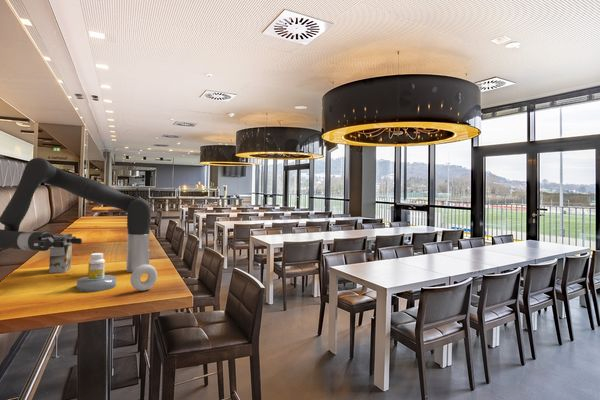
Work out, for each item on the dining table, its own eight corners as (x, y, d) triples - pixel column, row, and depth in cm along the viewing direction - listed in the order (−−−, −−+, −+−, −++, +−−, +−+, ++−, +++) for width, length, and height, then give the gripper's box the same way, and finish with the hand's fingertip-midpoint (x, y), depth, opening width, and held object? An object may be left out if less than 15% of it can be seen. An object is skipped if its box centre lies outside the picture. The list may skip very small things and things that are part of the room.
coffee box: (66, 272, 151) (67, 236, 150) (48, 273, 148) (49, 236, 148) (71, 267, 159) (72, 233, 159) (54, 268, 157) (55, 233, 156)
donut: (132, 294, 125) (133, 267, 125) (128, 292, 127) (129, 265, 127) (158, 289, 132) (159, 263, 132) (154, 287, 135) (155, 261, 135)
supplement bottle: (92, 277, 134) (93, 252, 134) (106, 277, 135) (107, 252, 134) (85, 280, 129) (86, 254, 129) (100, 280, 129) (101, 255, 129)
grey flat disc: (114, 280, 141) (114, 273, 141) (117, 289, 130) (117, 281, 130) (76, 284, 134) (77, 276, 134) (76, 293, 123) (76, 285, 123)
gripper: (18, 233, 128) (57, 235, 126) (50, 229, 142) (86, 230, 140) (18, 253, 128) (57, 255, 126) (50, 247, 142) (86, 249, 140)
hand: (72, 242), depth 133 cm, fingers open, 8 cm apart
